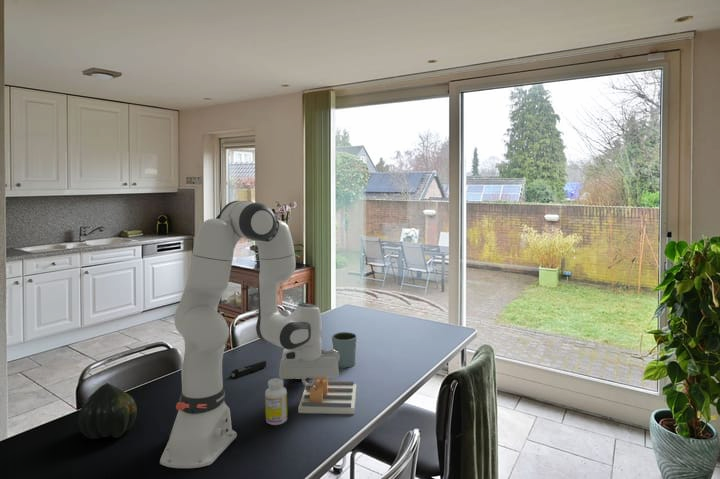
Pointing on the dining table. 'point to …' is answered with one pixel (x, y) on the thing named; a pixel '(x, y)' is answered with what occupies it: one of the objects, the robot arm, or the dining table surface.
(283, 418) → the supplement bottle
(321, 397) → the tab
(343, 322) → the dining table surface
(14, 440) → the dining table surface
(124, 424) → the squash
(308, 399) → the switch bank
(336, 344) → the green cup
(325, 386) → the tab
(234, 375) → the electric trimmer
